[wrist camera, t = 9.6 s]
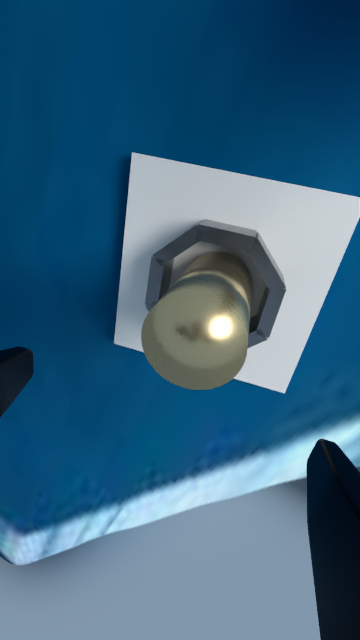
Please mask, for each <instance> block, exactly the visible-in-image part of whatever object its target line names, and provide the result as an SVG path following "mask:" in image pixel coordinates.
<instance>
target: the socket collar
mask: <svg viewBox="0 0 360 640" xmlns="http://www.w3.org/2000/svg"><path fill="white" fill-rule="evenodd" d="M199 241H204V242H209V243H213V244H217V245H222V246H226V247H230V248H235V249H239V250H243V251H247V253H248V255H249V256H250V258H251V260H252V261H253V263H254V265H255V267H256V268H257V270H258V272H259V273H260V275H261V277H262V278H263V280H264V282H265V284H266V288H265V291H264V294H263V297H262V300H261V304H260V307H259V310H258V313H257V315H255V316H253V317H251V318H250V323H249V335H248V347H247V349H248V348H250V347H252V346H254V345H257V344H259V343H261V342H263V341H266V340H267V338H269V337H270V334H271V331H272V328H273V325H274V323H275V320H276V317H277V314H278V312H279V309H280V306H281V303H282V300H283V298H284V295H285V292H286V285H285V281H284V277H283V274H282V273H281V271H280V269H279V267H278V266H277V264H276V262H275V260H274V259H273V257H272V255H271V253H270V251H269V250H268V248H267V246H266V244H265V243H264V241H263V239H262V237H261V236H260V234H259V232H257V233H256V230H252V229H248V228H243V227H239V226H234V225H230V224H225V223H221V222H216V221H212V220H207V219H206V220H203V221H201V222H200V223H198V224H197V225H195V226H194V227H192V228H191V229H189V230H188V231H186V232H185V233H183V234H182V235H181V236H179V237H178V238H176V239H175V240H173V241H172V242H170V243H169V244H168V245H166V246H165V247H163V248H162V249H160V250H159V251H157V252H156V253H154V254H153V256H152V257H151V263H150V270H149V277H148V284H147V292H146V299H145V305H146V306H145V307H146V308H147V310H148V311H149V312H150V310H151V309H152V308H153V307H154V306H155V305H156V303H157V302H158V301H159V300H160V299H161V298H162V296H163V295H164V294H165V293H166V292H167V291H168V289H169V285H170V280H171V274H172V268H173V262H174V258H175V257H176V256H178V255H179V254H181V253H182V252H184V251H185V250H187V249H188V248H190V247H191V246H193V245H194V244H196V243H198V242H199Z"/></svg>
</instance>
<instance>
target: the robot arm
mask: <svg viewBox="0 0 360 640" xmlns="http://www.w3.org/2000/svg"><path fill="white" fill-rule="evenodd" d="M33 370H34V369H33V353H32V351H31V350H30V349H27V348H24V347H14V348H10V349H6V350H2V351H0V417H1V416H2V415H3V414H4V412H5V411H6V410H7V409H8V407H9V406H10V405H11V403H12V402H13V401H14V400H15V398H16V397H17V396H18V394H19V393H20V392H21V390H22V389H23V388H24V386H25V385H26V384H27V383H28V381H29V380H30V379H31V377H32V375H33ZM307 524H308V534H309V542H310V551H311V559H312V568H313V576H314V585H315V594H316V602H317V611H318V620H319V627H320V637H321V640H360V472H359V471H358V469H357V468H356V467H355V466H354V465H353V463H352V462H351V461H350V460H349V459H348V457H347V456H346V455H345V454H344V453H343V451H342V450H341V449H340V448H339V447H338V445H337V444H336V443H334V442H331V441H328V440H324V439H319V440H318V441H317V443H316V445H315V447H314V448H313V450H312V452H311V454H310V456H309V458H308V461H307Z"/></svg>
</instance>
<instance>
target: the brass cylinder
mask: <svg viewBox="0 0 360 640" xmlns="http://www.w3.org/2000/svg"><path fill="white" fill-rule="evenodd" d="M251 298H252V277H251V274H250V272H249V270H248V268H247V266H246V265H245V264H244V263H243V262H242V261H241V260H240V259H239V258H237V257H236V256H234V255H232V254H230V253H227V252H222V251H213V252H208V253H205V254H202V255H201V256H199V257H197V258H196V259H195V260H194V261H193V262H192V263H191V264H190V265H189V266H188V267H187V268H186V270H185V271H184V272H183V273H182V274H181V275H180V277H179V278H178V279H177V280H176V281H175V282H174V284H173V285H172V286H171V287H170V288H169V289H168V291H167V292H166V293H165V294H164V295H163V296H162V298H161V299H160V300H159V301H158V302H157V303H156V305H155V306H154V307H153V308H152V309H151V310H150V312H149V313H148V314H147V316H146V318H145V320H144V323H143V326H142V331H141V342H142V347H143V351H144V354H145V356H146V358H147V360H148V361H149V363H150V365H151V366H152V367H153V368H154V369H155V371H156V372H157V373H159V374H160V375H161V376H162V377H163V378H165V379H166V380H168V381H169V382H171V383H173V384H175V385H178V386H181V387H184V388H188V389H194V390H206V389H212V388H216V387H219V386H221V385H224V384H226V383H227V382H229V381H230V380H232V379H233V378H234V377H235V376H236V375H237V374H238V373H239V371H240V370H241V368H242V367H243V365H244V362H245V360H246V356H247V347H248V335H249V323H250V310H251Z"/></svg>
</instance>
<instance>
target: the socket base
mask: <svg viewBox="0 0 360 640" xmlns="http://www.w3.org/2000/svg"><path fill="white" fill-rule="evenodd" d="M359 217H360V197H355V196H350V195H345V194H340V193H335V192H330V191H325V190H320V189H314V188H309V187H304V186H299V185H294V184H289V183H284V182H279V181H274V180H269V179H264V178H259V177H254V176H249V175H244V174H239V173H234V172H229V171H224V170H219V169H214V168H209V167H204V166H199V165H194V164H189V163H183V162H178V161H173V160H168V159H163V158H158V157H153V156H148V155H143V154H138V153H133V152H132V158H131V168H130V179H129V189H128V200H127V210H126V221H125V232H124V242H123V253H122V263H121V274H120V285H119V295H118V306H117V316H116V327H115V337H114V344H118V345H121V346H124V347H128V348H131V349H135V350H138V351H141V352H144V351H143V347H142V342H141V331H142V326H143V323H144V320H145V318H146V316H147V314H148V313H149V311H148V310H147V308H146V307H145V306H146V305H145V299H146V292H147V284H148V277H149V270H150V263H151V257H152V256H153V254H154V253H156V252H157V251H159V250H160V249H162V248H163V247H165V246H166V245H168V244H169V243H170V242H172V241H173V240H175V239H176V238H178V237H179V236H181V235H182V234H183V233H185V232H186V231H188V230H189V229H191V228H192V227H194V226H195V225H197V224H198V223H200V222H201V221H203V220H206V219H207V220H212V221H216V222H221V223H225V224H230V225H234V226H239V227H243V228H248V229H252V230H256V233H257V232H259V234H260V236H261V237H262V239H263V241H264V243H265V244H266V246H267V248H268V250H269V251H270V253H271V255H272V257H273V259H274V260H275V262H276V264H277V266H278V267H279V269H280V271H281V273H282V274H283V277H284V281H285V285H286V292H285V295H284V298H283V300H282V303H281V306H280V309H279V312H278V314H277V317H276V320H275V323H274V325H273V328H272V331H271V334H270V337H269V338H267V340H266V341H263V342H261V343H259V344H257V345H254V346H252V347H250V348H248V349H247V356H246V360H245V362H244V365H243V367H242V368H241V370H240V371H239V373H238V374H237V375H236V376H235V377H234V379H237V380H241V381H244V382H247V383H251V384H254V385H258V386H261V387H265V388H268V389H271V390H275V391H278V392H282V393H285V391H286V389H287V386H288V384H289V382H290V379H291V377H292V375H293V372H294V370H295V368H296V365H297V363H298V361H299V358H300V356H301V354H302V351H303V349H304V347H305V344H306V342H307V339H308V337H309V335H310V332H311V330H312V328H313V325H314V323H315V321H316V318H317V316H318V314H319V311H320V309H321V307H322V304H323V302H324V300H325V297H326V295H327V293H328V290H329V288H330V286H331V283H332V281H333V278H334V276H335V274H336V271H337V269H338V267H339V264H340V262H341V260H342V257H343V255H344V253H345V250H346V248H347V246H348V243H349V241H350V239H351V236H352V234H353V232H354V229H355V227H356V224H357V222H358V220H359ZM213 251H222V252H227V253H230V254H232V255H234V256H236V257H237V258H239V259H240V260H241V261H242V262H243V263H244V264H245V265H246V266H247V268H248V270H249V272H250V274H251V277H252V298H251V310H250V318H251V317H253V316H255V315H257V313H258V310H259V307H260V304H261V300H262V297H263V294H264V291H265V288H266V284H265V282H264V280H263V278H262V277H261V275H260V273H259V272H258V270H257V268H256V267H255V265H254V263H253V261H252V260H251V258H250V256H249V255H248V253H247V251H243V250H239V249H235V248H230V247H226V246H222V245H217V244H213V243H209V242H204V241H199V242H198V243H196V244H194V245H193V246H191V247H190V248H188V249H187V250H185V251H184V252H182V253H181V254H179V255H178V256H176V257H175V258H174V262H173V268H172V274H171V280H170V285H169V288H170V287H171V286H172V285H173V284H174V282H175V281H176V280H177V279H178V278H179V277H180V275H181V274H182V273H183V272H184V271H185V270H186V268H187V267H188V266H189V265H190V264H191V263H192V262H193V261H194V260H195V259H196V258H197V257H199V256H201V255H202V254H205V253H208V252H213Z"/></svg>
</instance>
